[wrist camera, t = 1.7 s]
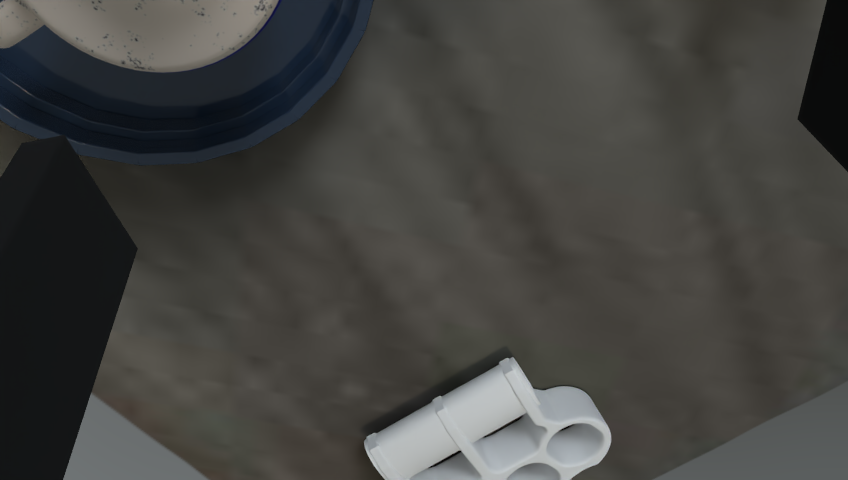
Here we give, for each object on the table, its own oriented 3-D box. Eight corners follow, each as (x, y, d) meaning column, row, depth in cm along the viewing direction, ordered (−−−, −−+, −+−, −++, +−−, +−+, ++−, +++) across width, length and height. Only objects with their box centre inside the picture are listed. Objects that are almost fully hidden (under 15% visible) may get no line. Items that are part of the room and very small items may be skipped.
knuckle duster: (547, 321, 45) (612, 437, 53) (321, 449, 46) (418, 543, 55) (567, 353, 42) (633, 471, 50) (325, 489, 44) (428, 582, 52)
